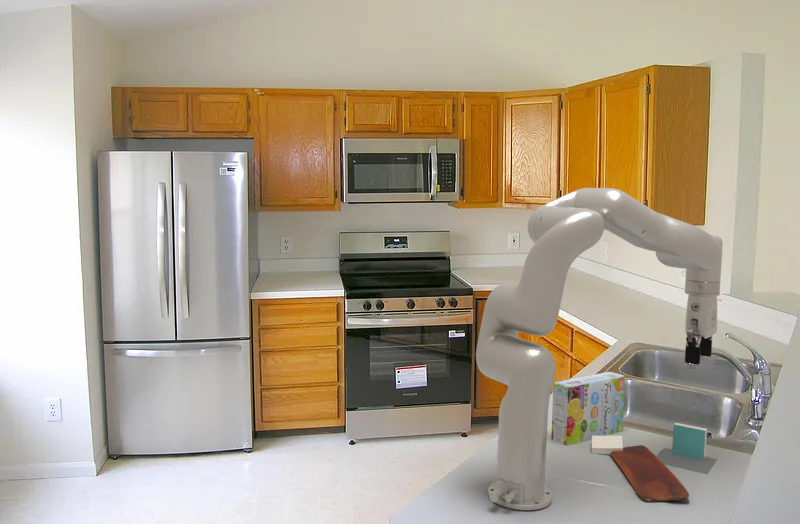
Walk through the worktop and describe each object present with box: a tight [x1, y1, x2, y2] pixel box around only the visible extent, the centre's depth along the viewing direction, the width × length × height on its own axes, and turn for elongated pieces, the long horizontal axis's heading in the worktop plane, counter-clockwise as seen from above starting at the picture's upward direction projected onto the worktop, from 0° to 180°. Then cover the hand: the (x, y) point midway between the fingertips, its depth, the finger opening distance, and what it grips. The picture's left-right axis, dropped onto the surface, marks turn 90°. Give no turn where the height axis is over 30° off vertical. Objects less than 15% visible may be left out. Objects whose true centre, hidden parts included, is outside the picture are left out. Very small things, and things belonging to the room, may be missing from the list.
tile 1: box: [591, 435, 624, 457], centre depth 169 cm, size 7×7×2 cm
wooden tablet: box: [610, 444, 690, 502], centre depth 154 cm, size 27×10×2 cm, turn 179°
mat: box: [655, 447, 718, 475], centre depth 164 cm, size 11×12×1 cm
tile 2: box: [671, 422, 708, 460], centre depth 166 cm, size 2×7×7 cm, turn 55°
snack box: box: [551, 371, 626, 446], centre depth 179 cm, size 21×6×15 cm, turn 124°
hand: (698, 359), depth 168 cm, fingers open, 9 cm apart
